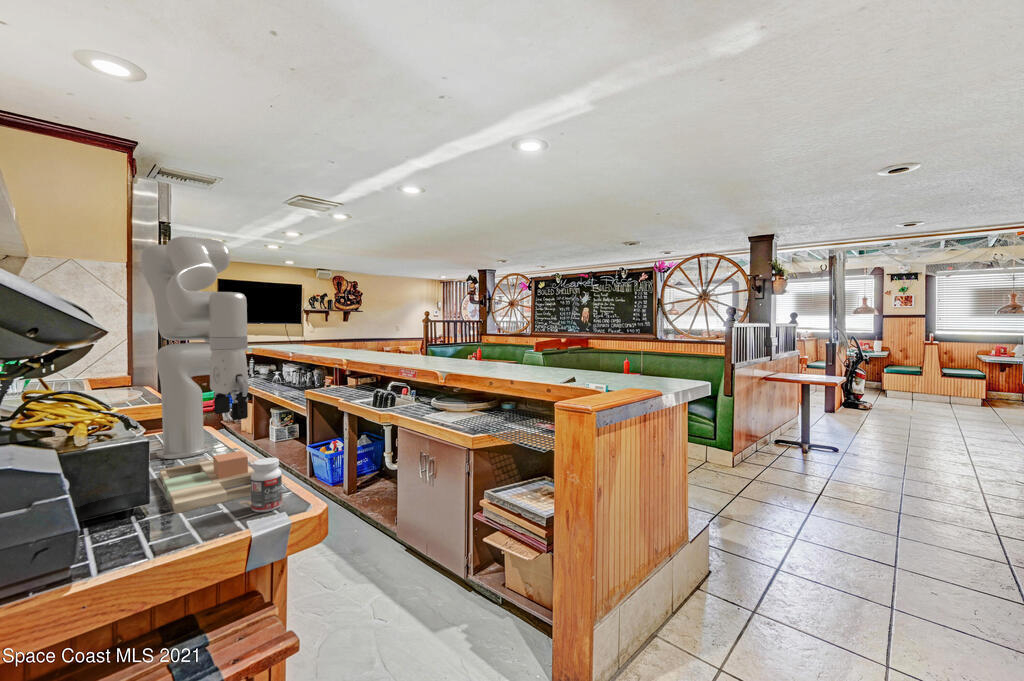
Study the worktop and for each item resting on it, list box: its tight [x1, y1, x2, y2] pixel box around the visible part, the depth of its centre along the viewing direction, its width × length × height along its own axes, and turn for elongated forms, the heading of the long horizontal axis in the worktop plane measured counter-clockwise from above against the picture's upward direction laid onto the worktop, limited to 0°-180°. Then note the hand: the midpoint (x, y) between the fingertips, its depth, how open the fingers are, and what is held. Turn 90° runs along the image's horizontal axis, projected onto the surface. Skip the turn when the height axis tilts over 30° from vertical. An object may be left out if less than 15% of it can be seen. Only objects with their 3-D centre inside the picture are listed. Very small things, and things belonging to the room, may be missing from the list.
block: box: [212, 450, 249, 479], centre depth 109 cm, size 6×6×4 cm
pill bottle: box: [250, 457, 283, 513], centre depth 94 cm, size 6×6×10 cm
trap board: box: [158, 459, 255, 514], centre depth 107 cm, size 27×17×2 cm, turn 43°
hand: (230, 416), depth 107 cm, fingers open, 9 cm apart
